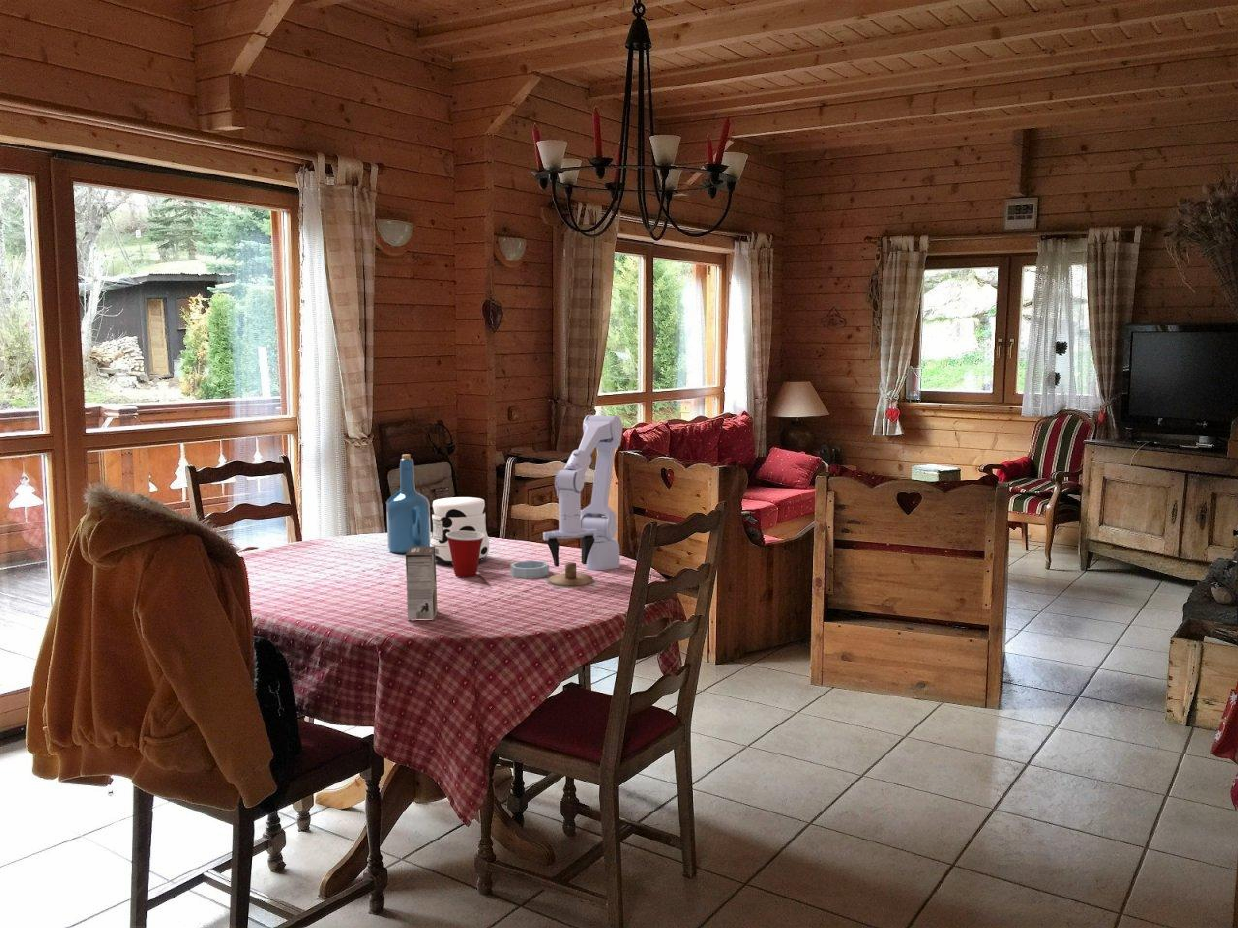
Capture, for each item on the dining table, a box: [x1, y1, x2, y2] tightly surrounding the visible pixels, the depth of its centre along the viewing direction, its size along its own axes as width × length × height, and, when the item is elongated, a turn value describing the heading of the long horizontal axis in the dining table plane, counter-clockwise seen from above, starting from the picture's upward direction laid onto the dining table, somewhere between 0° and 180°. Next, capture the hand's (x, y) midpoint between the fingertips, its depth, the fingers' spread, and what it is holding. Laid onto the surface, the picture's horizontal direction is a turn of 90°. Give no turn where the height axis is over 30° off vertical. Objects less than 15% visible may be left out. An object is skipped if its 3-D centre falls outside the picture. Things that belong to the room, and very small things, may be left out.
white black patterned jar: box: [430, 496, 490, 565], centre depth 302 cm, size 17×17×18 cm
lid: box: [548, 562, 593, 588], centre depth 273 cm, size 12×12×5 cm
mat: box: [542, 577, 600, 589], centre depth 274 cm, size 12×12×1 cm
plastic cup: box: [446, 530, 485, 578], centre depth 284 cm, size 11×11×12 cm
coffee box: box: [405, 546, 439, 620], centre depth 244 cm, size 9×6×16 cm
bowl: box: [509, 559, 550, 579], centre depth 282 cm, size 10×10×4 cm
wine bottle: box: [385, 453, 432, 555], centre depth 317 cm, size 14×13×30 cm
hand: (570, 564), depth 273 cm, fingers open, 7 cm apart
